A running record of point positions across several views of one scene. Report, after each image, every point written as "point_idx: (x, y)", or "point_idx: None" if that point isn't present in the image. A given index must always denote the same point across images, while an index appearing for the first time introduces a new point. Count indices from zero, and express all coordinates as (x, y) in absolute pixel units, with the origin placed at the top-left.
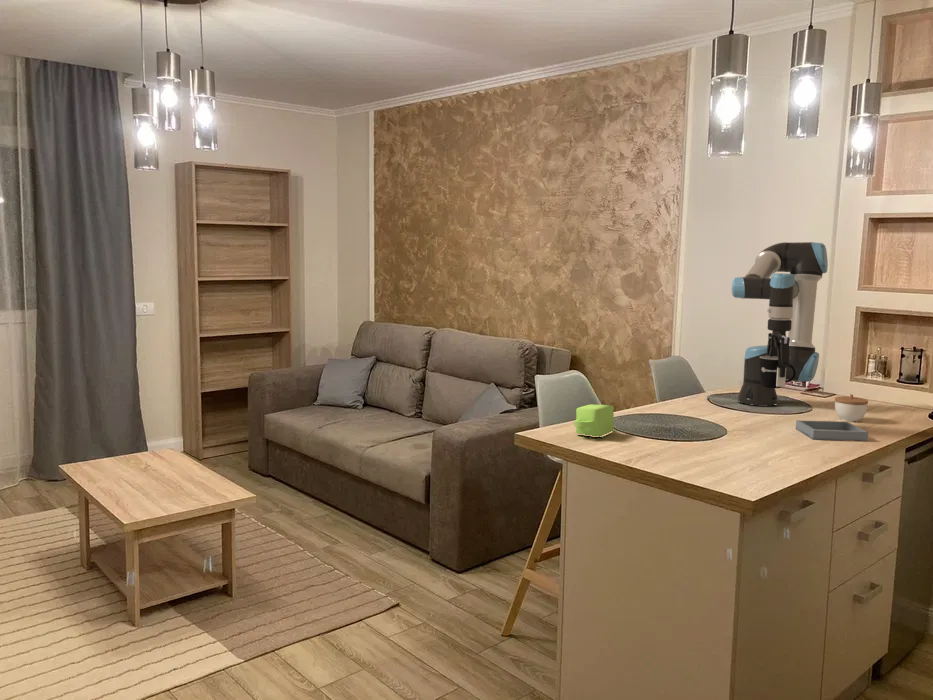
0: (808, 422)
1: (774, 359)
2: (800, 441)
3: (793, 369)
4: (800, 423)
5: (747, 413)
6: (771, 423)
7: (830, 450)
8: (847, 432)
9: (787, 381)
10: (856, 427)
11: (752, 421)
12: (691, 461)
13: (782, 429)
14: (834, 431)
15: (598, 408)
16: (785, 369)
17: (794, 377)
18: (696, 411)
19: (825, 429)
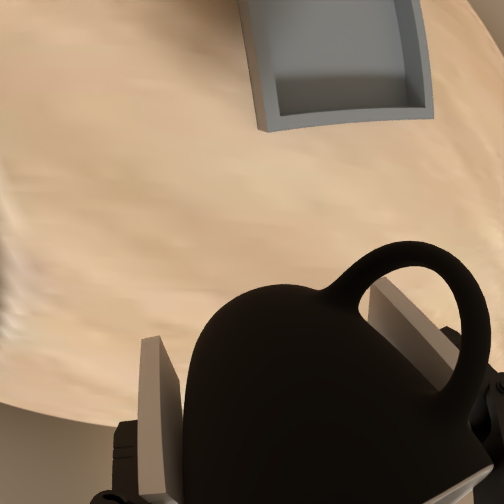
0: (272, 78)
1: (462, 496)
2: (435, 163)
3: (482, 306)
4: (319, 125)
5: (20, 291)
6: (170, 216)
7: (492, 117)
8: (417, 5)
9: (371, 279)
10: None
11: (160, 284)
12: (499, 349)
13: (281, 185)
14: (426, 46)
15: None
16: (492, 368)
17: (418, 242)
18: (89, 413)
19: (265, 14)
